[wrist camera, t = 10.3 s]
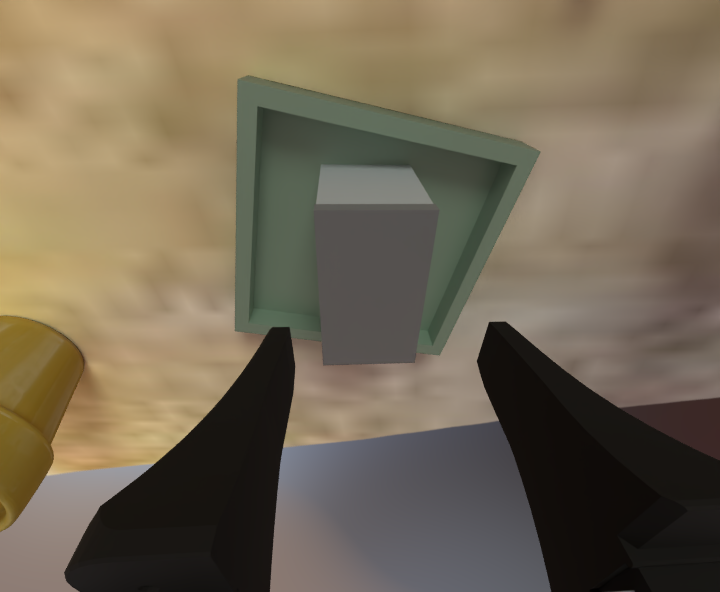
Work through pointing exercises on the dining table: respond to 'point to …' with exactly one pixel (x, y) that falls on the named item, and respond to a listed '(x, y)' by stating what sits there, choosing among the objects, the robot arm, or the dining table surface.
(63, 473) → the dining table surface
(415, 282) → the grey upright block
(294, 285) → the tray
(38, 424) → the plant pot
